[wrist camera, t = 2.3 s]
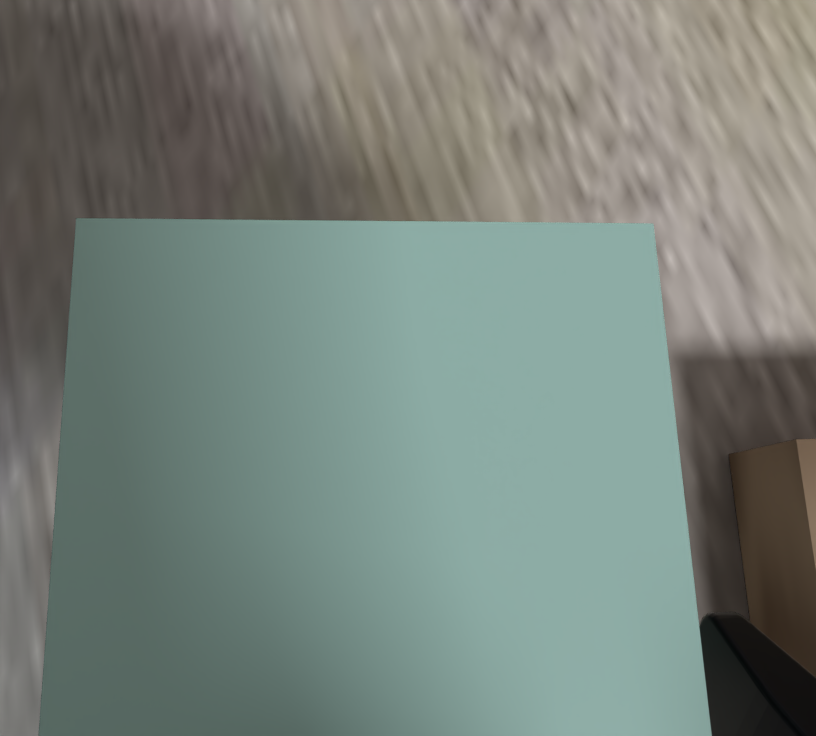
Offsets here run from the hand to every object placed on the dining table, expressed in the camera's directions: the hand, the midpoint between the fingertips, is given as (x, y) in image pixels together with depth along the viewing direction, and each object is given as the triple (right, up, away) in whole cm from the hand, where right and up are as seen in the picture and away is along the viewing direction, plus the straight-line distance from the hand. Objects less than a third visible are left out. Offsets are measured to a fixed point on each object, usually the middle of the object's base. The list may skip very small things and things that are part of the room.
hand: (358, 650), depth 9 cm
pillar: (-1, -1, +9) cm, 9 cm away
